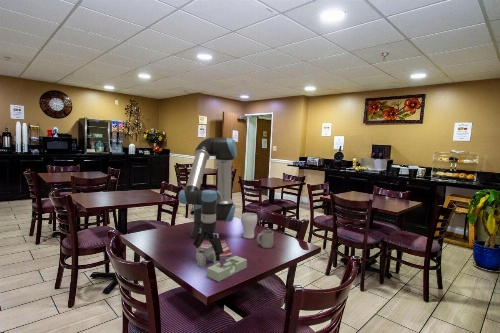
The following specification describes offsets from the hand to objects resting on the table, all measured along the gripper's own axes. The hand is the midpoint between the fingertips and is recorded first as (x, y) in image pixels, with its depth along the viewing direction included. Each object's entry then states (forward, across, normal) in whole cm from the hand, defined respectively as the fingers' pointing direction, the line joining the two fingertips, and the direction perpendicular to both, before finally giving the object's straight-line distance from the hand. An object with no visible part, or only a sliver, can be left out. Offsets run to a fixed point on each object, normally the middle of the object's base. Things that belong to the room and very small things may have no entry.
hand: (207, 263), depth 143 cm
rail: (0, +14, 0) cm, 14 cm away
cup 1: (0, -11, +48) cm, 49 cm away
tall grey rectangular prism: (0, 0, 0) cm, 0 cm away
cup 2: (0, +7, +41) cm, 42 cm away
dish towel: (+1, -10, +15) cm, 18 cm away
